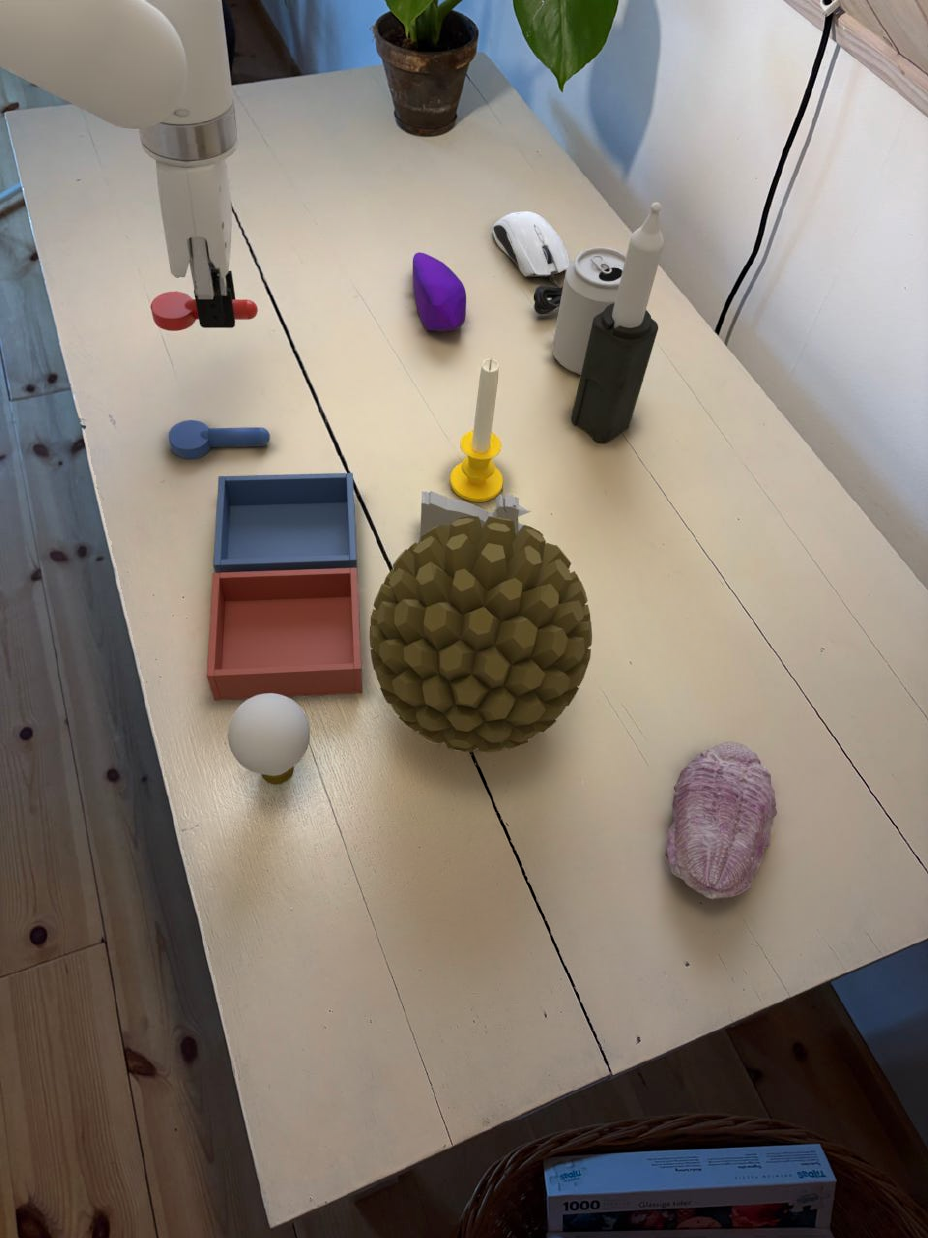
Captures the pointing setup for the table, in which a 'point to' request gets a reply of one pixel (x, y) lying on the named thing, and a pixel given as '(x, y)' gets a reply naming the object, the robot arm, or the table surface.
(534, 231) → the computer mouse
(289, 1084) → the table surface
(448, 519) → the grey flat angular piece
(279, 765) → the light bulb
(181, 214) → the robot arm
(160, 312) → the red ping pong paddle
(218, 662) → the red bin
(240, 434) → the blue spoon
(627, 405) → the candle
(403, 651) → the decorative object
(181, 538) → the table surface
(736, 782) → the fossil
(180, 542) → the table surface
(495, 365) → the candle
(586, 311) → the can
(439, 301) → the crystal
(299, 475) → the blue bin
